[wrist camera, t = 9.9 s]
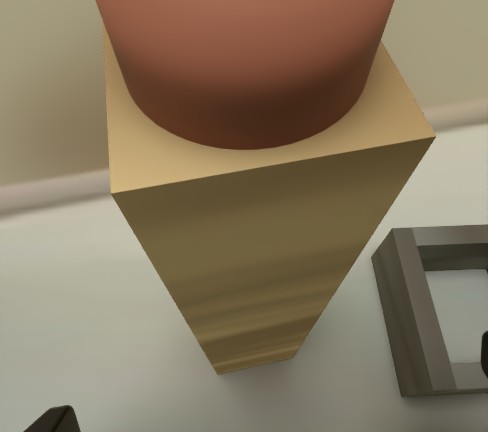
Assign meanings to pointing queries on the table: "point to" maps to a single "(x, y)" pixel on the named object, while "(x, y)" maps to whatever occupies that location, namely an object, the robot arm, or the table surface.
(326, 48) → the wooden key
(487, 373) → the robot arm
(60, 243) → the table surface
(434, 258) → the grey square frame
